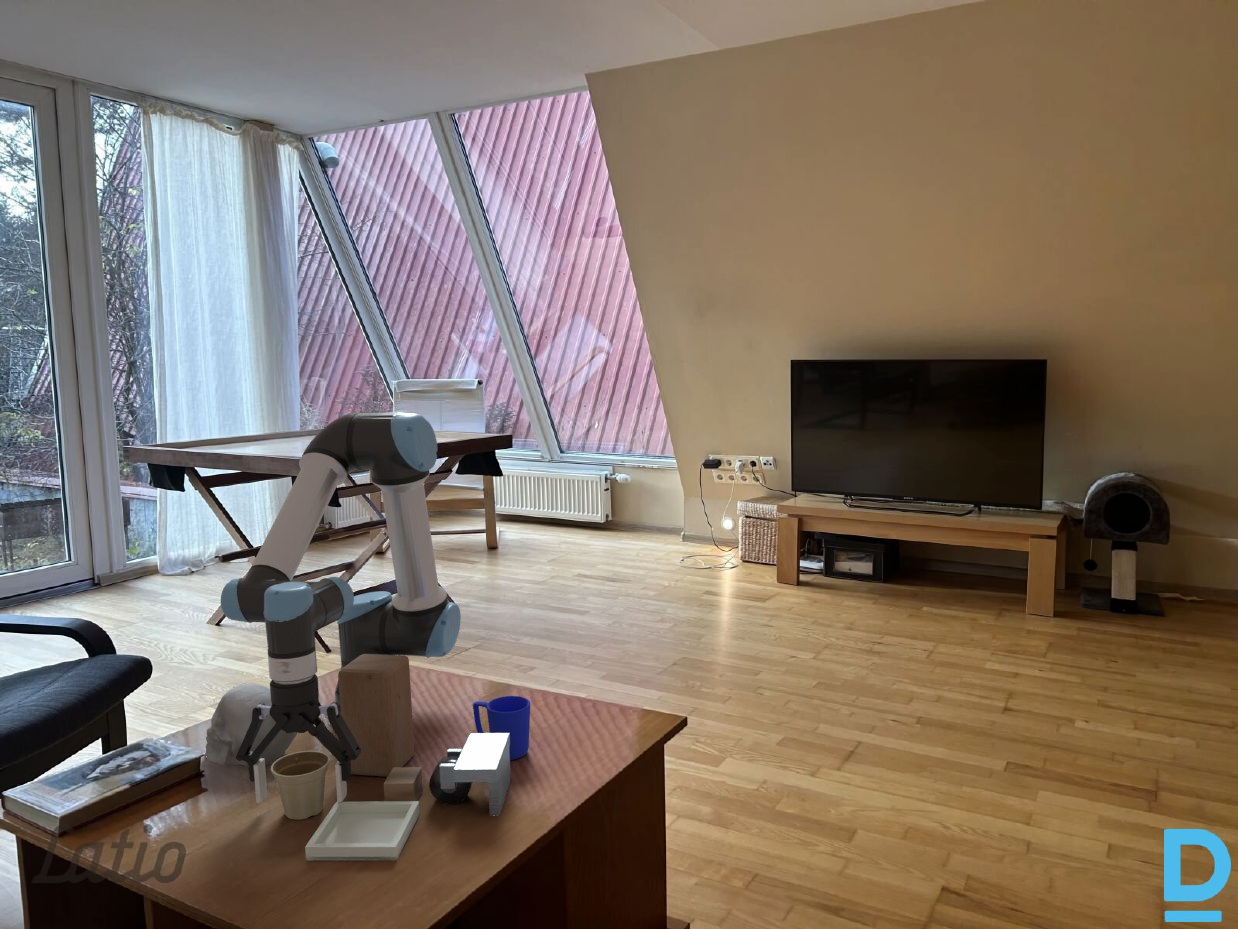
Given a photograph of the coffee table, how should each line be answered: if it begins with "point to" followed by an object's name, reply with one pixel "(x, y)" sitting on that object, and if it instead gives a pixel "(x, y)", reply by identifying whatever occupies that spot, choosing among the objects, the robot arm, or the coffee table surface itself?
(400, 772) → the block
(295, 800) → the flower pot
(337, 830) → the tray
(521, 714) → the mug
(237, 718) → the skull
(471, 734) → the caster wheel
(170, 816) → the coffee table surface
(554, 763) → the coffee table surface
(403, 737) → the wooden block
